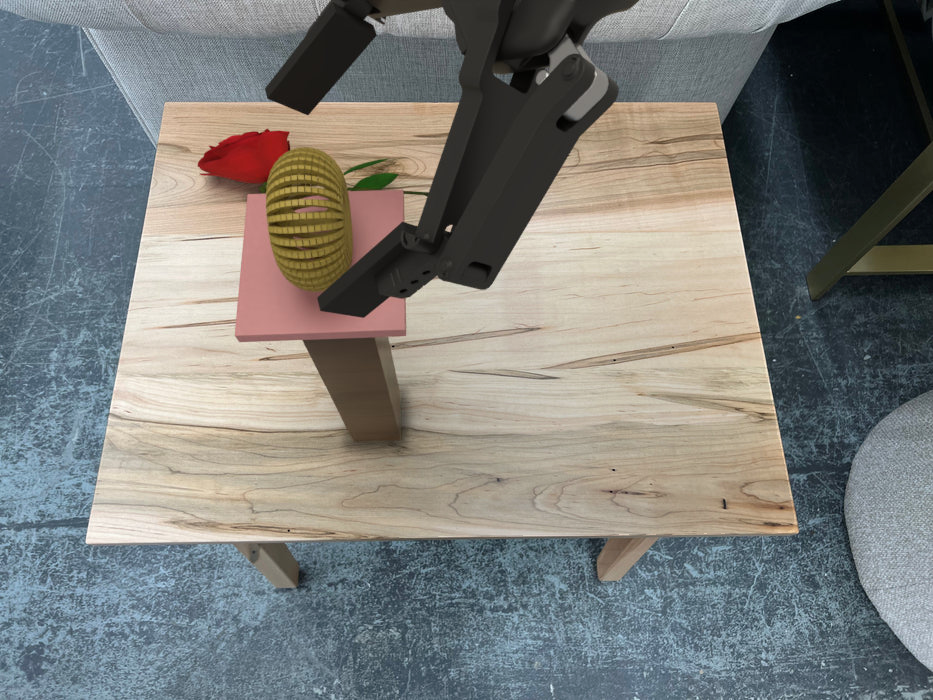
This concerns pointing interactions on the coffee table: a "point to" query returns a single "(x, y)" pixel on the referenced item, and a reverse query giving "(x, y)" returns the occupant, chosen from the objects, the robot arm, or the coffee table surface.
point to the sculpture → (309, 219)
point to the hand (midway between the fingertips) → (311, 198)
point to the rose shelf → (295, 310)
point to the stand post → (361, 384)
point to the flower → (271, 161)
